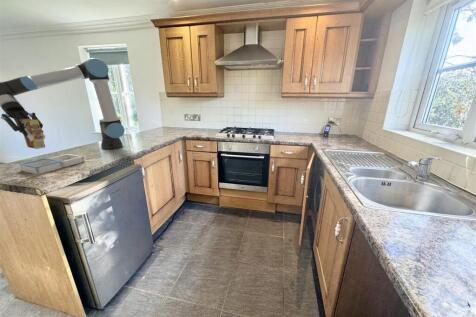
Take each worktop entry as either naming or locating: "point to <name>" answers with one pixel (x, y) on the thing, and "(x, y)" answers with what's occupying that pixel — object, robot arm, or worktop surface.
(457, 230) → the worktop surface
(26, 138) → the candy box
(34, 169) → the organizer
